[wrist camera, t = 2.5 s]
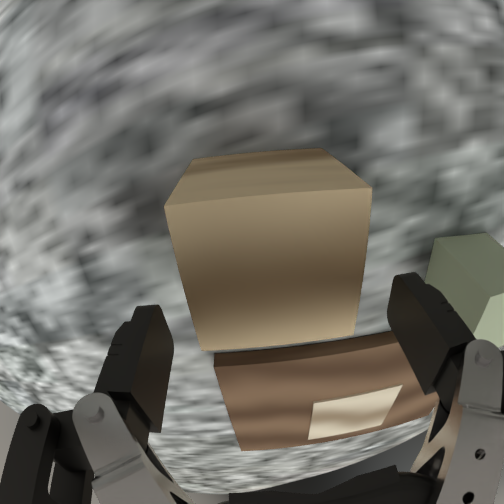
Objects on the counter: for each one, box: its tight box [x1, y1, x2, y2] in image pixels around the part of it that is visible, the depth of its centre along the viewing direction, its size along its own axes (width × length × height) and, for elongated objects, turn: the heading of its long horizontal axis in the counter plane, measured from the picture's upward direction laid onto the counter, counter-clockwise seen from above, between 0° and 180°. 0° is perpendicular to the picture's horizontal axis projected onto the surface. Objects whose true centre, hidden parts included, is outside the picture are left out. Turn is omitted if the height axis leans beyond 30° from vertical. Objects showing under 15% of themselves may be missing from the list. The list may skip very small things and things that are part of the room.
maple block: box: [164, 148, 372, 351], centre depth 12 cm, size 6×6×6 cm
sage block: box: [424, 233, 504, 348], centre depth 15 cm, size 5×5×6 cm
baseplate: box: [214, 331, 439, 451], centre depth 23 cm, size 16×22×1 cm
